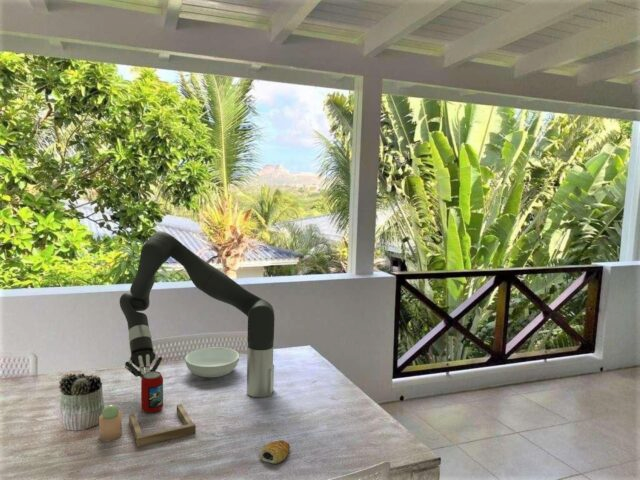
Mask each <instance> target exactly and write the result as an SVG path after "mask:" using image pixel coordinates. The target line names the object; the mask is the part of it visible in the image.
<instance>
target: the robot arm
mask: <svg viewBox="0 0 640 480" xmlns="http://www.w3.org/2000/svg"><path fill="white" fill-rule="evenodd" d="M139 256H140V257H139V262H138V263H139V264H138V267H137V272H136V274H135V276H134V278H133V281H132V284H131V285H130V289H129V290H130V291H129V292H124V293H122V294H121V296H120V298H119V306H120V310H121V311H122V313H123V315H124V317H125V320H126V322H127V329H128V342H129V351H130V357H129V360H128V361H125V364H124V368H125V369H126V370H127V371H128V372H130V373H131V374H132V375H133V376H135V377H137V378H138V377H140V378H141V379H140V380H142V378H143V375H144V374H145V373H147V372H151V371H157V369H158V368H159V366H160V364H161V363H162V360H163V357H162V356H157V355H156V353H155V351H154V346H153V341H152V340H153V339H152V334H151V330H150V325H149V320H148V316H147V314H146V313H143V311H146V310H147V309H148V308H149V307H150V304H151V303H150V294H151V291H152V289H153V286H154V284H155V281H156V276H155V275H156V273H157V272H158V270H160V268H161V267H162V266H163V265H164V263H166V262H167V261H169V259H170V258H172V259H174V260H175V261H176V262H178V263H179V264H180V265H181V266H182V267H183V268H184V269H185V272H186V273H187V275H188V277H189V279H190V280H191V281H192V283H193V284H194V286H195V287H196V288H197V289H198V290H200V291H201V292H203V293H204V294H206V295H207V296H209V297H210V298H212V299H215V300H217V301H220V302H222V303H225V304H228V305H230V306H232V307H235V309H237V310H239V311H240V312H242V313H243V314H244V315H245V316H246V317H247V355H246V359H247V360H246V361H247V362H246V365H247V366H246V394H247V395H248V396H250V397H252V398H266V397H271V396H272V394H273V392H274V386H275V385H274V381H275V380H274V379H275V377H274V376H275V374H274V372H275V364H274V343H275V311H274V307H273V305H272V304H271V303H270V302H269V301H267V300H266V299H263V298H262V297H259V296H257V295H256V294H254V293H251V292H250V291H248V290H247V289H245V288H244V287H243V286H241V285H240V284H238V283H237V282H236V281H235V280H233V279H232V278H231V277H229V276H228V275H226V274H225V273H224V272H222V271H221V270H219V269H218V268H216V267H215V266H213V265H212V264H210V263H209V262H207V261H205V260H204V259H203V258H201V257H200V256H199V255H197V254H195V253H194V252H193V251H192V250H191V249H189V248H188V247H187V246H186V245H185V244H183V243H182V242H180V241H179V240H178V239H177V238H176V237H174V235H172V234H170V233H169V232H166V231H164V230H163V231H162V230H160V231H159V230H158V231H155V232H154V233H153V234H151V236H150V237H149V238H148V239H147V241H145V243H144V244H143V245H142V248H141V250H140V255H139ZM153 362H154V364H153ZM152 364H153V366H152V368H151V365H152ZM137 368H138V369H137Z"/></svg>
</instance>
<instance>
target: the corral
mask: <svg viewBox="0 0 640 480" xmlns="http://www.w3.org/2000/svg"><path fill="white" fill-rule="evenodd" d="M176 413H177V415H178V418H179V419H180V421H181V423H183V425H179V426H176V427H169V428H167V429H163V430H158V431H154V432H153V431H152V432H148V433H145V434H143V432H142V430H141V427H140V424H139V421H138V419H137V417H136V415H135V413H131V414H129V415H128V419H129V420H128V423H129V425H130V428H131V429H130V430H131V431H132V434H133V436H134V439H135V442H136V443H135V445H136V447H137V448H138V447H142V446H147V445H151V444H155V443H160V442H164V441H165V442H166V441H169V440H173V439H177V438H182V437H185V436H189V435H194V434H196V423H194V421H193V420H192V418H191V417H190V416H189V414H188V412H187V411H186V409H185V408H184V406H183V404H182V403H179V404H177V405H176Z"/></svg>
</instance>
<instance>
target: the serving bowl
mask: <svg viewBox="0 0 640 480" xmlns="http://www.w3.org/2000/svg"><path fill="white" fill-rule="evenodd" d="M184 359H185V360H184V361H185V364H186V368H187V369H188V370H189V372H191V373H192V374H193V375H196V376H199V377H202V378H218V377H222V376H226V375H228V374H229V373H231V372H233V371H234V370H235V369H236V368H237V366H238V363H239V360H240V354H239V352H238V351H236V350H235V349H232V348H229V347H221V346H220V347H219V346H213V347H211V346H210V347H205V348H204V347H203V348H199V349H195V350H193V351H191V352H189V353H187V355H185V358H184Z"/></svg>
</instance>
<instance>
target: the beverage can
mask: <svg viewBox="0 0 640 480" xmlns="http://www.w3.org/2000/svg"><path fill="white" fill-rule="evenodd" d="M140 380H141V379H140ZM140 391H141V392H140V393H141V394H140V396H141V397H140V398H141V399H140V400H141V402H140V405H141V407H140V408H141V411H143V412H145V413H147V414H154V413H157V412H159V411H160V410H162V409H163V407H164V377H163V375H162V374H161V372H160V371H157V370H156V371H151V372H147V373H145V374H144V375H143V378H142V380H141V381H140Z"/></svg>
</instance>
